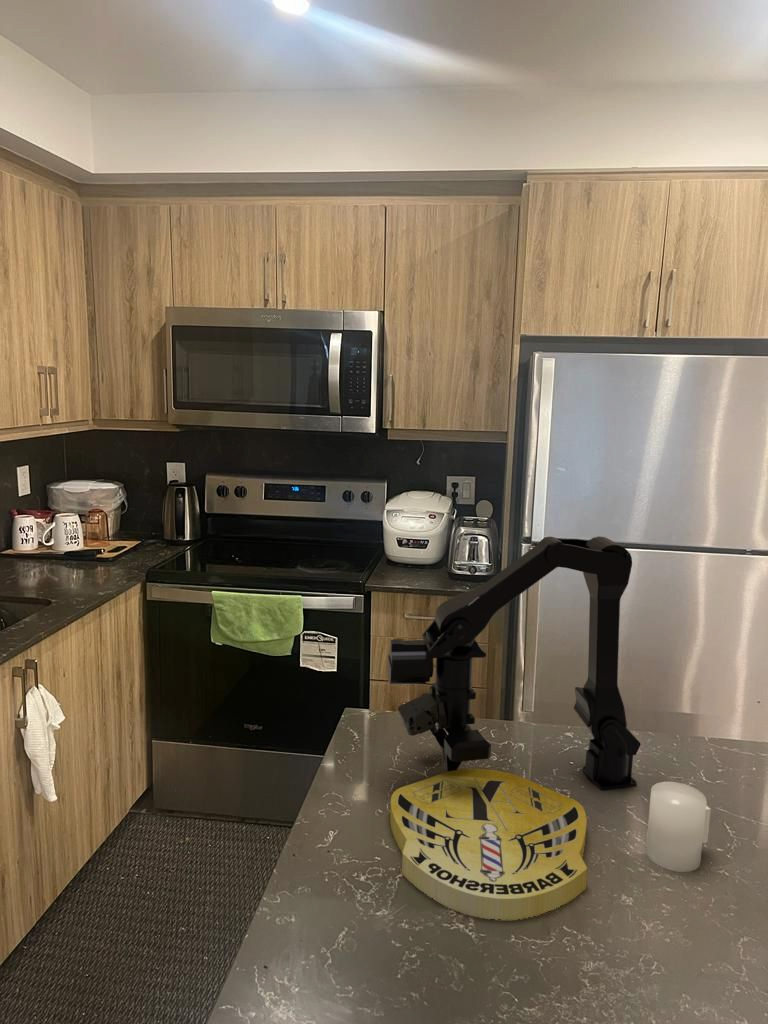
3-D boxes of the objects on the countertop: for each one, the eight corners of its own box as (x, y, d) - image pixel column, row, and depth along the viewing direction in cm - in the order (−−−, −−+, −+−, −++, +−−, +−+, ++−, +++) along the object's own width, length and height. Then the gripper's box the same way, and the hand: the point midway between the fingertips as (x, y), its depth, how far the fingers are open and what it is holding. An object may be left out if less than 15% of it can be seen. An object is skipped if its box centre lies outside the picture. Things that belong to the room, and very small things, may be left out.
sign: (376, 888, 90) (396, 763, 120) (375, 912, 91) (396, 781, 120) (612, 908, 88) (574, 775, 117) (610, 932, 88) (573, 794, 118)
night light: (685, 836, 107) (691, 778, 105) (718, 867, 100) (724, 805, 99) (635, 843, 105) (640, 784, 103) (665, 875, 98) (671, 813, 97)
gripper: (389, 663, 124) (387, 750, 127) (420, 712, 106) (418, 812, 109) (452, 658, 126) (449, 744, 129) (494, 705, 108) (489, 803, 111)
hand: (450, 774), depth 119 cm, fingers closed
